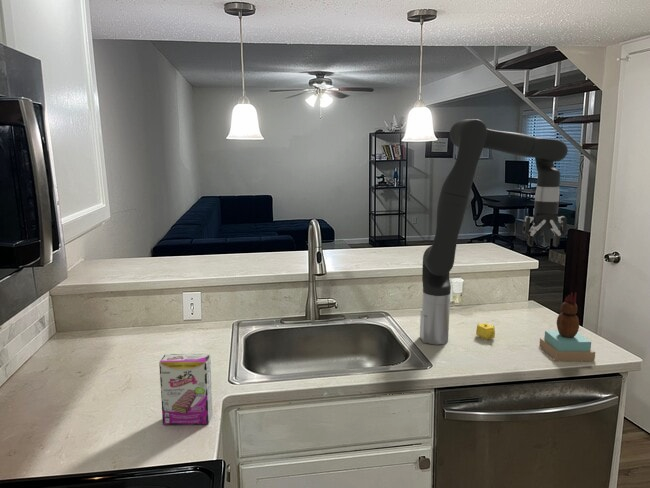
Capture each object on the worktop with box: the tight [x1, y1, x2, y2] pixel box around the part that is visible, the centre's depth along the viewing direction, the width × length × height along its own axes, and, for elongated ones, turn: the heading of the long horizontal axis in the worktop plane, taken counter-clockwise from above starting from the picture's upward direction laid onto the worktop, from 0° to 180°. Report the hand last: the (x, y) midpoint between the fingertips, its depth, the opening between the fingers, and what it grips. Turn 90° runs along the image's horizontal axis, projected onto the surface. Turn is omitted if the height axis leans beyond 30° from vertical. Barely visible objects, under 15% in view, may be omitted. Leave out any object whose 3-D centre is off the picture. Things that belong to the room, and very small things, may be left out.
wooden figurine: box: [556, 292, 580, 338], centre depth 156 cm, size 7×6×15 cm
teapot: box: [475, 323, 496, 341], centre depth 171 cm, size 8×6×5 cm
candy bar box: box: [158, 353, 213, 426], centre depth 117 cm, size 11×5×16 cm, turn 92°
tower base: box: [538, 330, 596, 362], centre depth 157 cm, size 12×12×6 cm
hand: (543, 246), depth 170 cm, fingers open, 8 cm apart
